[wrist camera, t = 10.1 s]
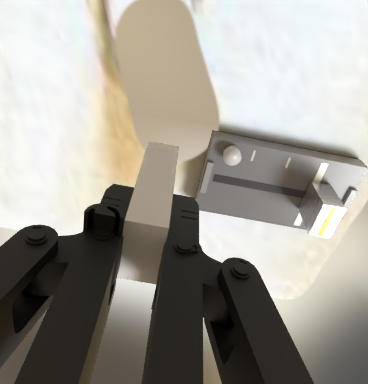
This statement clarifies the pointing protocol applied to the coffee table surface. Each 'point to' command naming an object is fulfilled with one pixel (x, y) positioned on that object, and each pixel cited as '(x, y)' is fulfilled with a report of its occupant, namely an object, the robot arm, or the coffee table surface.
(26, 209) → the coffee table surface
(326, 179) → the console
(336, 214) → the fader
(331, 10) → the coffee table surface
